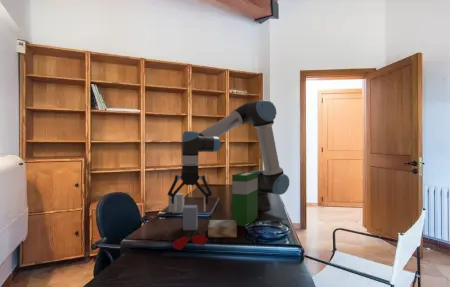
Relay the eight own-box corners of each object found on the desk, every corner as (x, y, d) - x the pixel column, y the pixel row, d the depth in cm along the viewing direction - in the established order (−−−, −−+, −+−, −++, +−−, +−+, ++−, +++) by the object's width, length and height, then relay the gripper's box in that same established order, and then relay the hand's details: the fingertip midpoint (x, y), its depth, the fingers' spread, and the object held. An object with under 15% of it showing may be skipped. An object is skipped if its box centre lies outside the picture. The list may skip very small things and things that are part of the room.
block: (197, 226, 139) (197, 205, 139) (196, 230, 133) (196, 207, 133) (184, 226, 139) (184, 205, 139) (182, 230, 133) (182, 207, 133)
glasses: (173, 252, 106) (172, 239, 106) (160, 239, 121) (160, 227, 121) (208, 246, 113) (208, 233, 113) (192, 234, 127) (191, 222, 127)
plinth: (236, 228, 135) (236, 219, 135) (236, 237, 123) (236, 226, 123) (209, 228, 135) (209, 219, 135) (208, 237, 123) (207, 226, 123)
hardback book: (244, 216, 158) (244, 171, 158) (257, 217, 155) (257, 172, 155) (232, 224, 141) (232, 174, 141) (247, 226, 139) (246, 175, 139)
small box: (184, 211, 171) (184, 192, 171) (182, 213, 165) (182, 194, 165) (171, 210, 171) (171, 192, 171) (168, 213, 166) (168, 194, 166)
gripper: (217, 164, 140) (217, 209, 140) (165, 164, 140) (164, 208, 140) (217, 165, 132) (216, 213, 132) (161, 165, 133) (161, 212, 132)
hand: (189, 211), depth 136 cm, fingers open, 13 cm apart
